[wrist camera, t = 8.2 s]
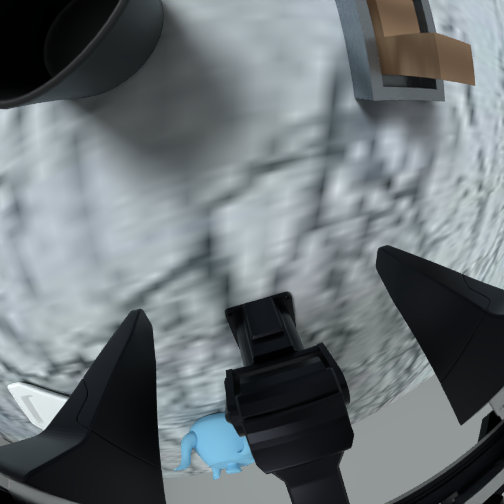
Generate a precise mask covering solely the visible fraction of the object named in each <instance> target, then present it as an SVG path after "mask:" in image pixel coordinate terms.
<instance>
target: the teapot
mask: <svg viewBox="0 0 504 504" xmlns="http://www.w3.org/2000/svg"><path fill="white" fill-rule="evenodd" d="M193 448H194V449H195V451H196V452H197V454H198V455H199V456H200V457H201V458H202V460H203V461H204V462H205V463H206V464H207V465H208V466H210V467H211V468H212V471H213V479H214V480H215V479H218V478H219V477H220V473H221V469H226V473H228V474H230V473H231V474H232V473H239V472H241V471H242V470H241V468H240V467H242V466H246V465H249V464H252V463H253V462H255V460H254V458H253V456H252V454H251V451H250V448H249V445H248V442H247V439H246V436H244V437H239V436H238V434H237V432H236V430H235V429H234V427H233V425H232V424H230V423H228V422H227V421H226V419H225V412H223V413H216V414H211V415H208V416H205V417H202V418H200V419H199V420H197V421H196V423H195V424H194V425H193V426H192V427H191V429H190V431H189V433H188V434H186V435H185V436H184V438H183V439H182V442H181V454H182V460H181V464H180V465H179V467H177V468H176V469H175V470H174V471H177V470H182V469H186V468H188V467H189V465H190V463H191V451H192V449H193Z"/></svg>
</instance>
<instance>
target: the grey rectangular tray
mask: <svg viewBox="0 0 504 504" xmlns="http://www.w3.org/2000/svg"><path fill="white" fill-rule="evenodd" d="M335 1H336V4H337V8H338V12H339V16H340V20H341V24H342V28H343V32H344V37H345V42H346V47H347V52H348V57H349V63H350V68H351V74H352V81H353V88H354V95H355V98H358V99H365V100H372V101H379V100H427V101H445V96H444V83H443V80H440V79H432V78H424V77H414V76H402V75H385V74H381V68H380V62H379V56H378V50H377V45H376V39H375V35H374V30H373V26H372V21H371V17H370V13H369V9H368V5H367V2H366V0H335ZM412 1H413V4H414V8H415V12H416V16H417V20H418V25H419V30H420V33H432V32H435V33H436V30H435V25H434V21H433V17H432V13H431V9H430V5H429V1H428V0H412Z"/></svg>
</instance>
